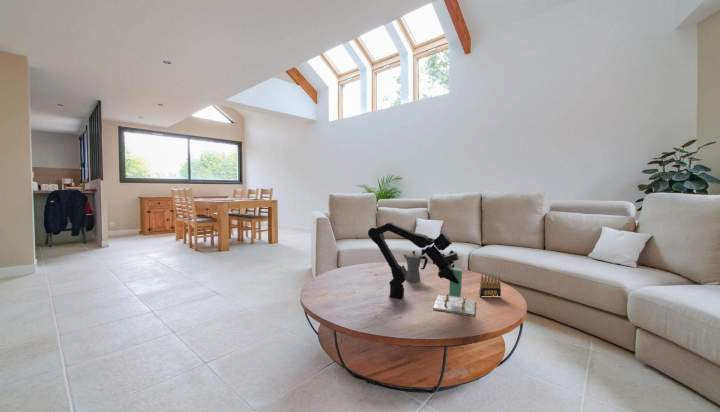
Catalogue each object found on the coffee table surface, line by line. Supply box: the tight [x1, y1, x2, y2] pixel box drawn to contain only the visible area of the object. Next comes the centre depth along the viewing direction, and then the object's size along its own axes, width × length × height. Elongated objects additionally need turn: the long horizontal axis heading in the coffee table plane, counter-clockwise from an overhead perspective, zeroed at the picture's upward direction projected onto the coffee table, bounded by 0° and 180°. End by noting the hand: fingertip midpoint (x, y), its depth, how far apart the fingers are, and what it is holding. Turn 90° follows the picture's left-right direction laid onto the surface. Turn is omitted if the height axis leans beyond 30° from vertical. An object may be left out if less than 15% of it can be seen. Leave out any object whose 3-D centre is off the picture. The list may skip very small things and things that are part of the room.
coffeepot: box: [402, 250, 429, 283], centre depth 183 cm, size 15×9×18 cm, turn 62°
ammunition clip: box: [478, 274, 502, 297], centre depth 157 cm, size 11×2×12 cm, turn 90°
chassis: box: [432, 293, 476, 317], centre depth 145 cm, size 18×18×4 cm
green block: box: [448, 267, 463, 298], centre depth 144 cm, size 5×5×12 cm
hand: (458, 281), depth 144 cm, fingers closed on green block, 5 cm apart
